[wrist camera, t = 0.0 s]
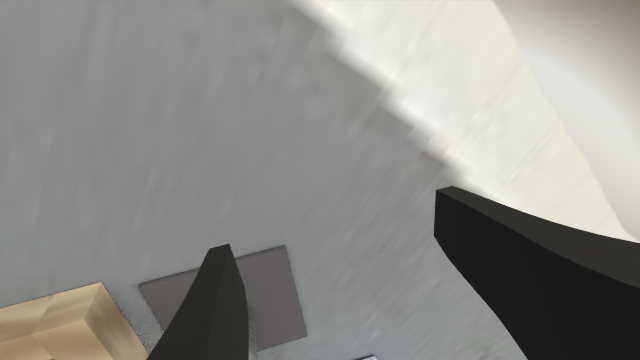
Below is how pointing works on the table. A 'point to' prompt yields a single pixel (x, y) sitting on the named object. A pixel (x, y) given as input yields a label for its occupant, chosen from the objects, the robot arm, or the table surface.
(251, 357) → the peg
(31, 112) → the table surface
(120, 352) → the hole block
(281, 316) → the mat
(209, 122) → the table surface
